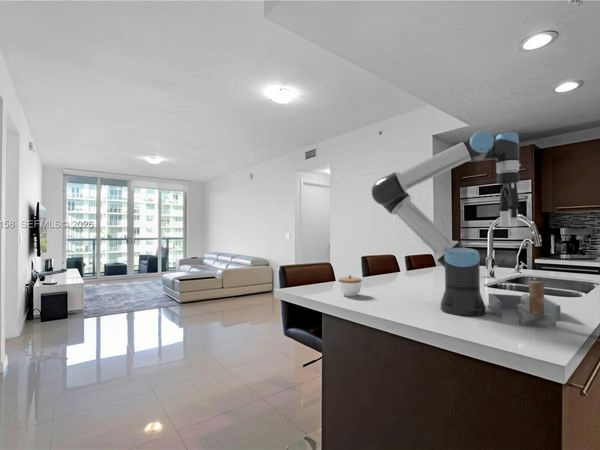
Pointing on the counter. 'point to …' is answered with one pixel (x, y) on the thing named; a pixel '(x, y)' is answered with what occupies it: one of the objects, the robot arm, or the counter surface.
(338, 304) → the counter surface
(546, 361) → the counter surface
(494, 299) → the box
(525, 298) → the rubber duck
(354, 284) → the lidded jar
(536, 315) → the scraper
